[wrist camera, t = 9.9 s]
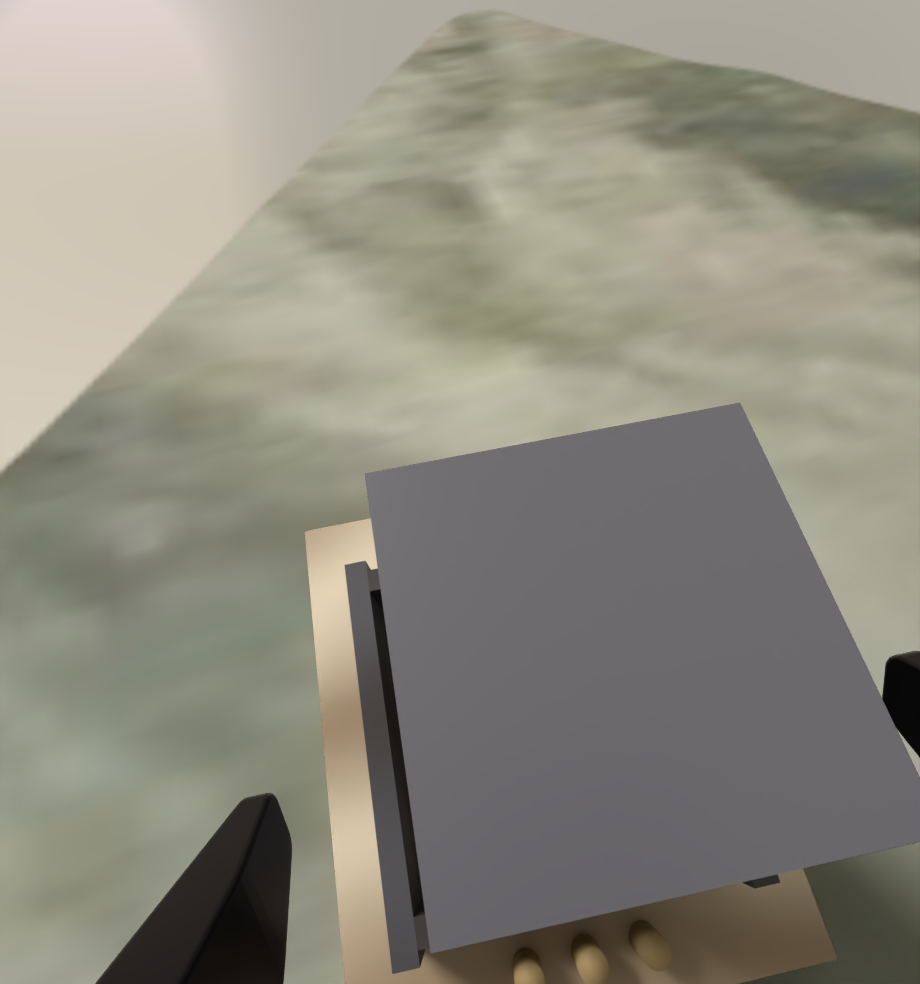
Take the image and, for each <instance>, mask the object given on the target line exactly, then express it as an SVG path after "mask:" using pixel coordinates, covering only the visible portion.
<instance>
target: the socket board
mask: <svg viewBox="0 0 920 984" xmlns="http://www.w3.org/2000/svg"><path fill="white" fill-rule="evenodd" d="M305 539H306V550H307V561H308V573H309V584H310V595H311V607H312V618H313V629H314V640H315V652H316V663H317V674H318V686H319V697H320V708H321V719H322V731H323V742H324V753H325V765H326V776H327V787H328V798H329V810H330V821H331V832H332V844H333V855H334V866H335V877H336V889H337V900H338V911H339V923H340V934H341V945H342V957H343V968H344V979H345V984H740V983H744V982H748V981H752V980H756V979H760V978H764V977H768V976H772V975H776V974H781V973H785V972H789V971H793V970H797V969H801V968H805V967H809V966H813V965H817V964H822V963H826V962H830V961H834V960H838V958H837V955H836V953H835V950H834V948H833V945H832V942H831V940H830V937H829V935H828V932H827V929H826V927H825V924H824V921H823V919H822V916H821V914H820V911H819V908H818V906H817V903H816V901H815V898H814V895H813V893H812V890H811V888H810V885H809V882H808V880H807V877H806V875H805V872H804V869H798V870H794V871H790V872H785V873H781V874H777V875H772V876H768V877H763V878H759V879H755V880H750V881H746V882H742V883H737V884H733V885H728V886H724V887H720V888H715V889H711V890H707V891H702V892H698V893H693V894H689V895H685V896H680V897H676V898H672V899H667V900H663V901H658V902H654V903H650V904H645V905H641V906H637V907H632V908H628V909H623V910H619V911H615V912H610V913H606V914H602V915H597V916H593V917H588V918H584V919H580V920H575V921H571V922H567V923H562V924H558V925H553V926H549V927H545V928H540V929H536V930H532V931H527V932H523V933H518V934H514V935H510V936H505V937H501V938H496V939H492V940H488V941H483V942H479V943H475V944H470V945H466V946H461V947H457V948H453V949H448V950H444V951H440V952H435V953H430V945H429V938H428V931H427V924H426V916H425V909H424V902H423V894H422V887H421V880H420V872H419V865H418V858H417V851H416V843H415V836H414V829H413V821H412V814H411V807H410V800H409V792H408V785H407V778H406V770H405V763H404V756H403V749H402V741H401V734H400V727H399V719H398V712H397V705H396V698H395V690H394V683H393V676H392V668H391V661H390V654H389V647H388V639H387V632H386V625H385V617H384V610H383V603H382V596H381V588H380V581H379V574H378V566H377V559H376V552H375V545H374V537H373V530H372V523H371V519H366V520H361V521H355V522H350V523H345V524H340V525H335V526H330V527H325V528H320V529H315V530H310V531H305Z"/></svg>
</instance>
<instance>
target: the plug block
mask: <svg viewBox="0 0 920 984" xmlns="http://www.w3.org/2000/svg"><path fill="white" fill-rule="evenodd" d="M365 479H366V486H367V494H368V501H369V508H370V515H371V523H372V530H373V537H374V545H375V552H376V559H377V566H378V574H379V581H380V588H381V596H382V603H383V610H384V617H385V625H386V632H387V639H388V647H389V654H390V661H391V668H392V676H393V683H394V690H395V698H396V705H397V712H398V719H399V727H400V734H401V741H402V749H403V756H404V763H405V770H406V778H407V785H408V792H409V800H410V807H411V814H412V821H413V829H414V836H415V843H416V851H417V858H418V865H419V872H420V880H421V887H422V894H423V902H424V909H425V916H426V924H427V931H428V938H429V945H430V953H435V952H440V951H444V950H448V949H453V948H457V947H461V946H466V945H470V944H475V943H479V942H483V941H488V940H492V939H496V938H501V937H505V936H510V935H514V934H518V933H523V932H527V931H532V930H536V929H540V928H545V927H549V926H553V925H558V924H562V923H567V922H571V921H575V920H580V919H584V918H588V917H593V916H597V915H602V914H606V913H610V912H615V911H619V910H623V909H628V908H632V907H637V906H641V905H645V904H650V903H654V902H658V901H663V900H667V899H672V898H676V897H680V896H685V895H689V894H693V893H698V892H702V891H707V890H711V889H715V888H720V887H724V886H728V885H733V884H737V883H742V882H746V881H750V880H755V879H759V878H763V877H768V876H772V875H777V874H781V873H785V872H790V871H794V870H798V869H803V868H807V867H812V866H816V865H820V864H825V863H829V862H833V861H838V860H842V859H847V858H851V857H855V856H860V855H864V854H868V853H873V852H877V851H882V850H886V849H890V848H895V847H899V846H903V845H908V844H912V843H917V842H920V777H919V775H918V773H917V771H916V768H915V766H914V764H913V762H912V760H911V758H910V756H909V754H908V752H907V750H906V748H905V745H904V743H903V741H902V739H901V737H900V735H899V733H898V731H897V729H896V727H895V725H894V723H893V720H892V718H891V716H890V714H889V712H888V710H887V708H886V706H885V704H884V702H883V700H882V698H881V695H880V693H879V691H878V689H877V687H876V685H875V683H874V681H873V679H872V677H871V675H870V673H869V670H868V668H867V666H866V664H865V662H864V660H863V658H862V656H861V654H860V652H859V650H858V648H857V645H856V643H855V641H854V639H853V637H852V635H851V633H850V631H849V629H848V627H847V625H846V623H845V620H844V618H843V616H842V614H841V612H840V610H839V608H838V606H837V604H836V602H835V600H834V598H833V595H832V593H831V591H830V589H829V587H828V585H827V583H826V581H825V579H824V577H823V575H822V573H821V570H820V568H819V566H818V564H817V562H816V560H815V558H814V556H813V554H812V552H811V550H810V547H809V545H808V543H807V541H806V539H805V537H804V535H803V533H802V531H801V529H800V527H799V525H798V522H797V520H796V518H795V516H794V514H793V512H792V510H791V508H790V506H789V504H788V502H787V500H786V497H785V495H784V493H783V491H782V489H781V487H780V485H779V483H778V481H777V479H776V477H775V475H774V472H773V470H772V468H771V466H770V464H769V462H768V460H767V458H766V456H765V454H764V452H763V450H762V447H761V445H760V443H759V441H758V439H757V437H756V435H755V433H754V431H753V429H752V427H751V425H750V422H749V420H748V418H747V416H746V414H745V412H744V410H743V408H742V406H741V404H740V403H736V404H730V405H725V406H720V407H715V408H709V409H704V410H699V411H693V412H688V413H683V414H678V415H672V416H667V417H662V418H657V419H651V420H646V421H641V422H635V423H630V424H625V425H620V426H614V427H609V428H604V429H598V430H593V431H588V432H583V433H577V434H572V435H567V436H561V437H556V438H551V439H546V440H540V441H535V442H530V443H524V444H519V445H514V446H509V447H503V448H498V449H493V450H487V451H482V452H477V453H472V454H466V455H461V456H456V457H450V458H445V459H440V460H435V461H429V462H424V463H419V464H413V465H408V466H403V467H398V468H392V469H387V470H382V471H377V472H371V473H366V474H365Z"/></svg>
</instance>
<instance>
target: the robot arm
mask: <svg viewBox="0 0 920 984" xmlns="http://www.w3.org/2000/svg"><path fill="white" fill-rule="evenodd" d="M882 700H883V702H884V704H885V706H886V708H887V710H888V712H889V714H890V716H891V718H892V720H893V723H894V725H895V727H896V728H897V730H898V731H899V732H900V733H901V735H902V736H903V737H904V738H905V740H906V741H907V742H908V743H909V745H910V746H911V747H912V748H913V750H914V751H915V752H916V753H917V755H918V756H919V757H920V651H912V652H907V653H903V654H898V655H894V656H892V657H890V658H889V659H888V660H887V662H886V666H885V675H884V685H883V695H882ZM291 861H292V843H291V837H290V833H289V830H288V827H287V825H286V822H285V819H284V817H283V814H282V811H281V808H280V806H279V803H278V800H277V798H276V797H275V796H274V794H272V793H265V794H261V795H256V796H252V797H247V798H245V799H243V800H242V801H241V802H240V803H239V804H238V805H237V806H236V807H235V809H234V810H233V811H232V813H231V814H230V815H229V816H228V818H227V819H226V820H225V821H224V823H223V824H222V825H221V826H220V828H219V829H218V830H217V831H216V833H215V834H214V835H213V836H212V838H211V839H210V840H209V841H208V843H207V844H206V845H205V846H204V848H203V849H202V850H201V851H200V853H199V854H198V855H197V856H196V858H195V859H194V860H193V861H192V863H191V864H190V865H189V866H188V868H187V869H186V870H185V871H184V873H183V874H182V875H181V877H180V878H179V879H178V880H177V882H176V883H175V884H174V885H173V887H172V888H171V889H170V890H169V892H168V893H167V894H166V895H165V897H164V898H163V899H162V900H161V902H160V903H159V904H158V905H157V907H156V908H155V909H154V910H153V912H152V913H151V914H150V915H149V917H148V918H147V919H146V920H145V922H144V923H143V924H142V925H141V927H140V928H139V929H138V930H137V932H136V933H135V934H134V935H133V937H132V938H131V939H130V941H129V942H128V943H127V944H126V946H125V947H124V948H123V949H122V951H121V952H120V953H119V954H118V956H117V957H116V958H115V959H114V961H113V962H112V963H111V964H110V966H109V967H108V968H107V969H106V971H105V972H104V973H103V974H102V976H101V977H100V978H99V979H98V981H97V982H96V983H95V984H283V981H284V970H285V958H286V941H287V925H288V909H289V893H290V877H291Z"/></svg>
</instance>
